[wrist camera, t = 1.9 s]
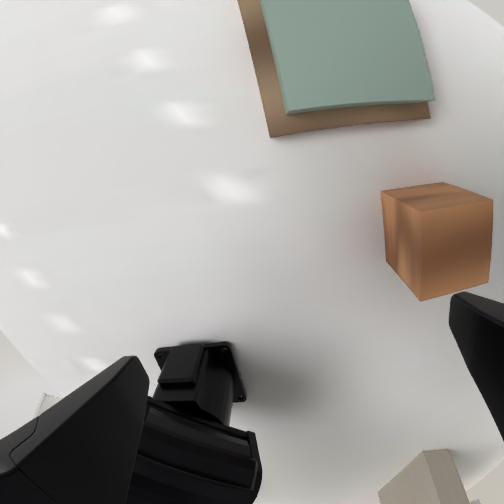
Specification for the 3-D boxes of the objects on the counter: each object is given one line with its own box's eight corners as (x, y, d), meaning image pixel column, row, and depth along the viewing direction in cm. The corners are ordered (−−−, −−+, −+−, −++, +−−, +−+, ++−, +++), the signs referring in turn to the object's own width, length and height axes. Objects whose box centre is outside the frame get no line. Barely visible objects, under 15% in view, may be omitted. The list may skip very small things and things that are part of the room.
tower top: (415, 103, 15) (435, 100, 13) (285, 114, 16) (288, 110, 14) (384, -11, 13) (398, -27, 10) (257, -6, 13) (256, -25, 11)
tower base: (413, 119, 18) (430, 118, 15) (269, 137, 19) (270, 137, 17) (378, -9, 14) (390, -22, 12) (238, 2, 16) (234, -13, 13)
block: (444, 248, 20) (488, 282, 15) (385, 260, 21) (420, 301, 15) (442, 182, 19) (492, 199, 13) (380, 191, 19) (420, 211, 13)
